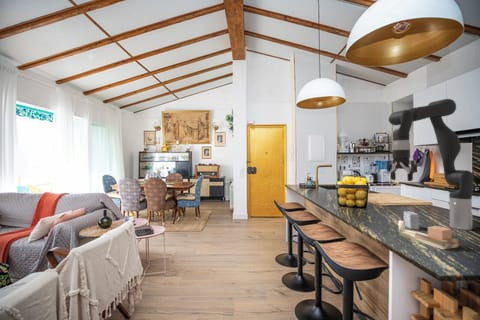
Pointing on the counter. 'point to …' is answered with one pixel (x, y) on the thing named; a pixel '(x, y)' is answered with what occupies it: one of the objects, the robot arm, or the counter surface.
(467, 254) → the counter surface
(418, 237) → the lane board
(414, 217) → the medicine box
